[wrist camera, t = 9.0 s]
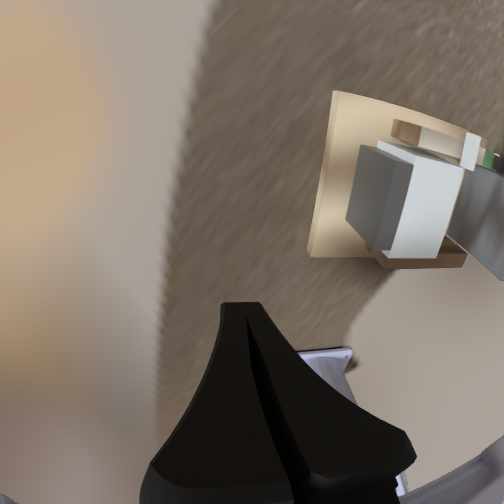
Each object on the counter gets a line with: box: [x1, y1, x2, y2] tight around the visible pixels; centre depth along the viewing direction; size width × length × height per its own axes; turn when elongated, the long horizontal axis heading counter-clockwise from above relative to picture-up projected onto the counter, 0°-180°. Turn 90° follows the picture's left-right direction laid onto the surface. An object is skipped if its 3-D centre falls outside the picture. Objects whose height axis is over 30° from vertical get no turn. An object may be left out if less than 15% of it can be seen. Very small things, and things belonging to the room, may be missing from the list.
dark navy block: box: [492, 155, 504, 174], centre depth 14 cm, size 1×1×2 cm, turn 175°
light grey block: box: [345, 132, 481, 258], centre depth 16 cm, size 8×6×4 cm
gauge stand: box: [307, 91, 504, 281], centre depth 17 cm, size 11×14×8 cm
